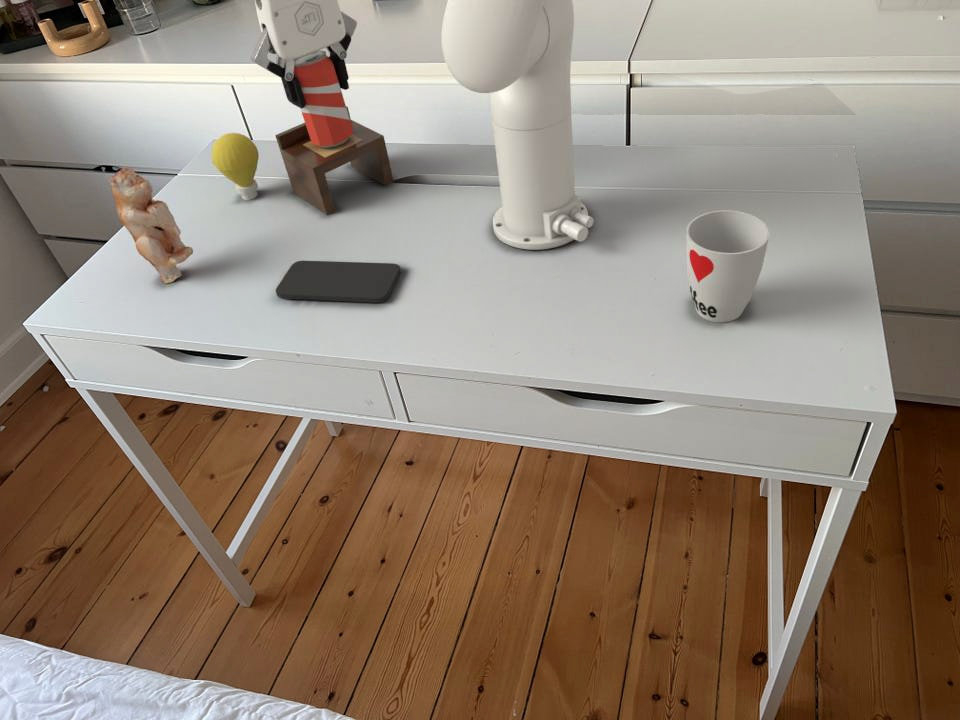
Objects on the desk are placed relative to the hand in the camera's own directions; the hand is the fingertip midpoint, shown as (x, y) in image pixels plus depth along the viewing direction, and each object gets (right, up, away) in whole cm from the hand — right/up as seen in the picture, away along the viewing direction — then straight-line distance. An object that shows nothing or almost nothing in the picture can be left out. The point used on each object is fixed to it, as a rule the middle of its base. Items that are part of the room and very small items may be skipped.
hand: (320, 95), depth 107 cm
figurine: (-19, -25, -2) cm, 32 cm away
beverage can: (+1, -5, +5) cm, 7 cm away
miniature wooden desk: (+2, -11, +10) cm, 15 cm away
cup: (+49, -31, -21) cm, 62 cm away
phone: (+4, -27, -9) cm, 29 cm away
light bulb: (-13, -12, +12) cm, 21 cm away
